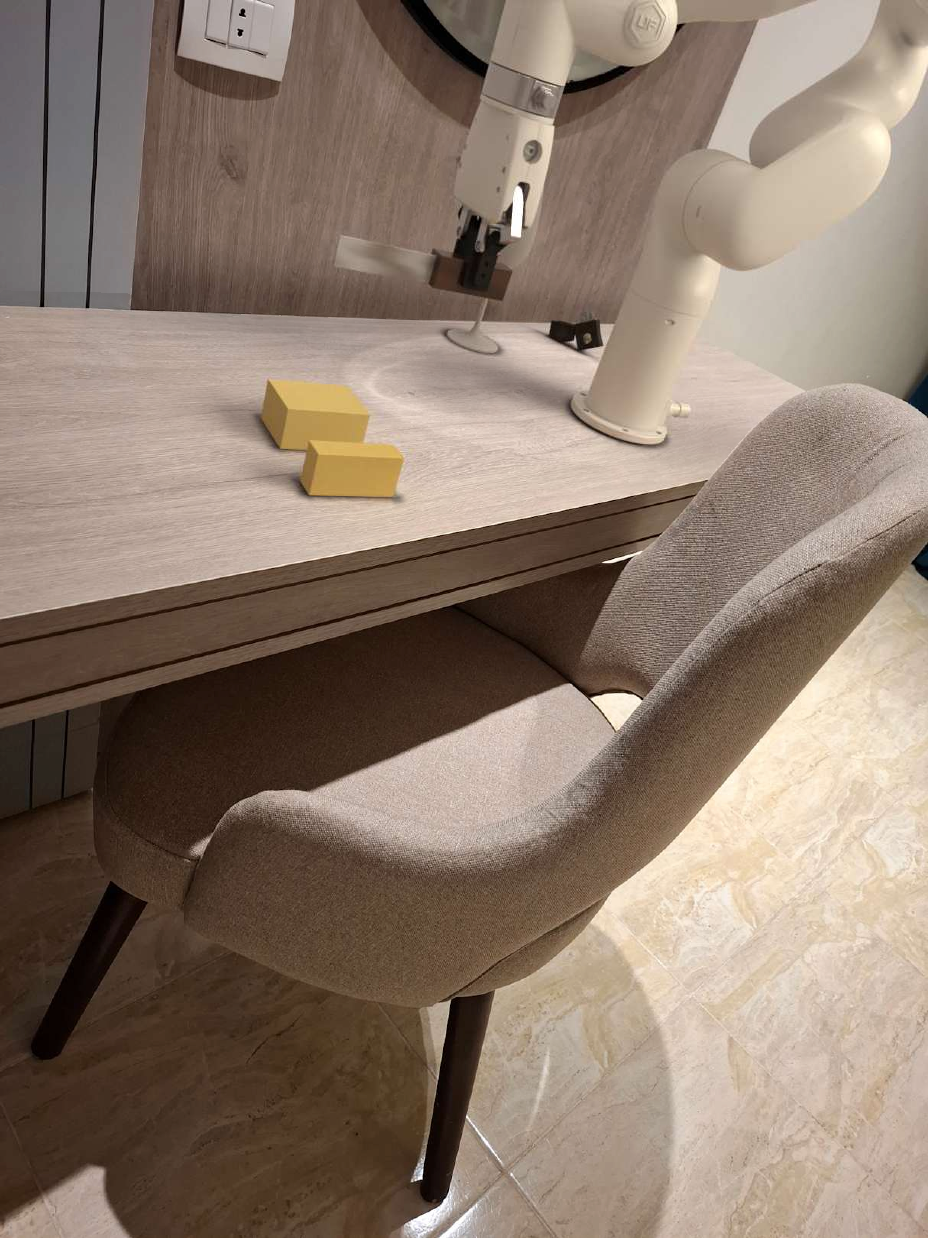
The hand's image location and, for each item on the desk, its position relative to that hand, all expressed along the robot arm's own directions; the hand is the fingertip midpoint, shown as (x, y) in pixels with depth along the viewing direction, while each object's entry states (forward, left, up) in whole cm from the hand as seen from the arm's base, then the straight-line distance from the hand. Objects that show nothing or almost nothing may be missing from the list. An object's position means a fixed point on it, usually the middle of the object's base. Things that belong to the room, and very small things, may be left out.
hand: (467, 282), depth 97 cm
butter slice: (+20, +23, -13) cm, 33 cm away
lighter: (-33, -21, -13) cm, 41 cm away
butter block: (+20, +13, -13) cm, 27 cm away
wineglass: (-14, -18, -13) cm, 26 cm away
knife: (+6, 0, -1) cm, 6 cm away
